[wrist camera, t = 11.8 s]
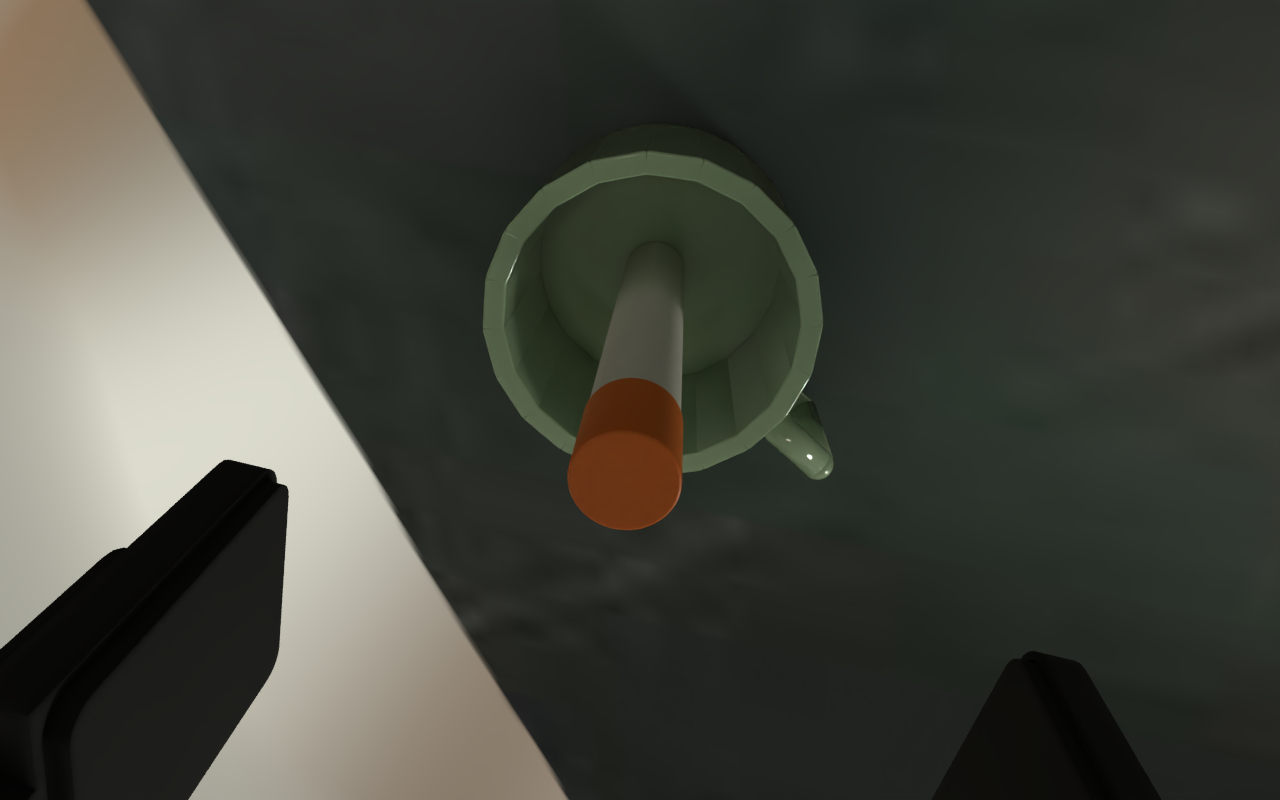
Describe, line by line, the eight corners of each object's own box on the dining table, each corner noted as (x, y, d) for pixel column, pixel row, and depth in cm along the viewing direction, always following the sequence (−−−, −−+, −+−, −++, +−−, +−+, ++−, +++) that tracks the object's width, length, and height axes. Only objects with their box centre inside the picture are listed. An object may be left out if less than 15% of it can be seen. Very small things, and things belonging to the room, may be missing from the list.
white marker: (632, 232, 28) (579, 418, 15) (692, 248, 28) (695, 445, 15) (618, 291, 29) (556, 517, 16) (677, 306, 29) (666, 542, 16)
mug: (475, 264, 29) (415, 329, 23) (655, 59, 26) (644, 70, 20) (716, 476, 32) (722, 586, 26) (903, 315, 29) (962, 395, 23)
